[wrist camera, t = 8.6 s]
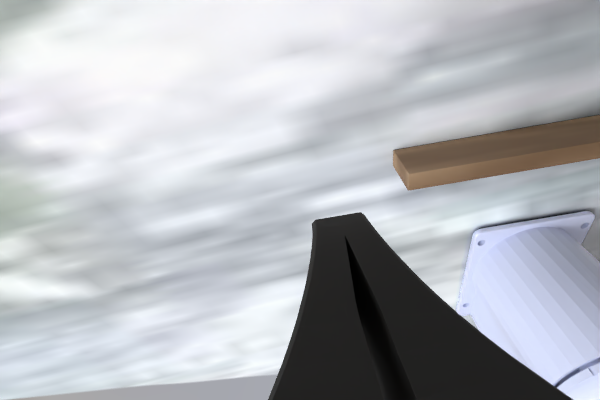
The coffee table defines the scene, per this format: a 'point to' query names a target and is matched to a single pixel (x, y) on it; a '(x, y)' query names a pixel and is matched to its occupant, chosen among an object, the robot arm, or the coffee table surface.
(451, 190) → the coffee table surface
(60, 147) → the coffee table surface
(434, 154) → the channel box
